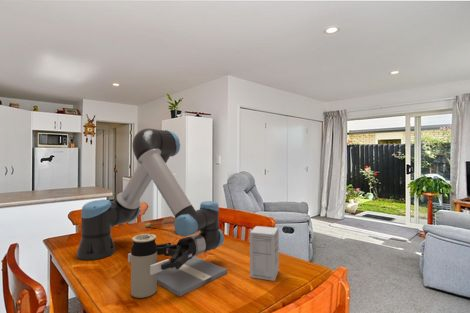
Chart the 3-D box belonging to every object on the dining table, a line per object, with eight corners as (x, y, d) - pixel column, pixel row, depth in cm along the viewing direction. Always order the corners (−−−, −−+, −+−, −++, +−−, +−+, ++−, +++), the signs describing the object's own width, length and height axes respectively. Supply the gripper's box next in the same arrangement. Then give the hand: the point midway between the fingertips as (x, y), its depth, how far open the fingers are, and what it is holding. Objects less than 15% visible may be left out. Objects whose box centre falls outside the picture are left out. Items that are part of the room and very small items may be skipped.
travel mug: (131, 301, 80) (131, 242, 80) (130, 288, 88) (130, 235, 87) (158, 295, 83) (158, 239, 83) (155, 284, 91) (155, 232, 91)
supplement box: (279, 270, 102) (279, 227, 102) (275, 281, 93) (275, 234, 93) (255, 267, 105) (255, 225, 105) (249, 277, 96) (249, 231, 96)
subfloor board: (146, 277, 96) (146, 272, 96) (192, 259, 113) (192, 255, 113) (179, 296, 83) (179, 291, 83) (227, 273, 99) (227, 269, 99)
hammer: (147, 209, 165) (185, 203, 152) (151, 235, 164) (190, 230, 151) (140, 211, 160) (179, 205, 147) (144, 237, 158) (183, 233, 145)
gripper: (213, 265, 92) (161, 288, 76) (171, 248, 108) (120, 264, 92) (214, 244, 92) (161, 262, 76) (171, 230, 108) (120, 243, 92)
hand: (138, 263), depth 84 cm, fingers open, 13 cm apart
